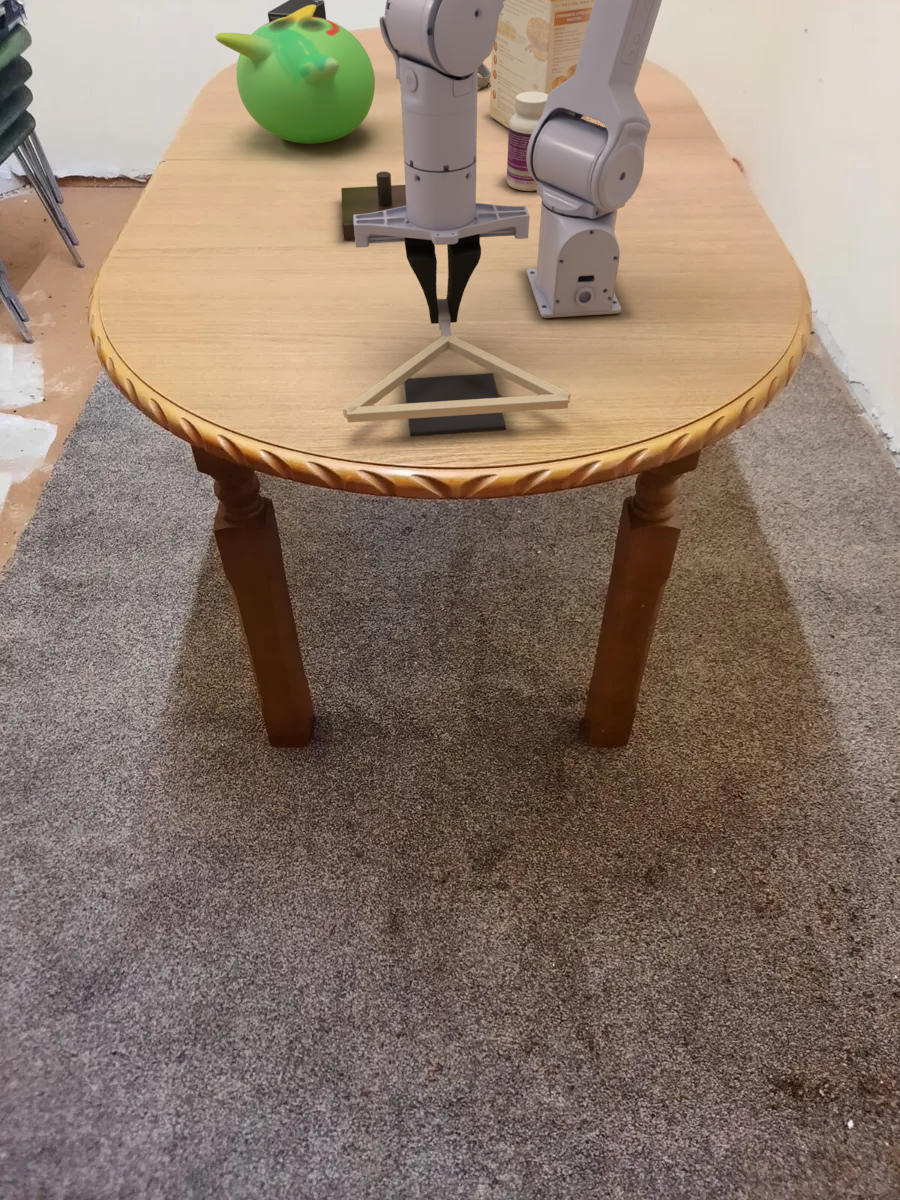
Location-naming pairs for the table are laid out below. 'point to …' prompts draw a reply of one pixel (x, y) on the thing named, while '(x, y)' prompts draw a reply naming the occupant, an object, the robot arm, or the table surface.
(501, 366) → the hanger
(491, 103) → the coffeecake box
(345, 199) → the block
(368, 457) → the table surface
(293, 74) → the toy bird
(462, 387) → the mat
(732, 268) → the table surface
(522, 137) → the pill bottle
